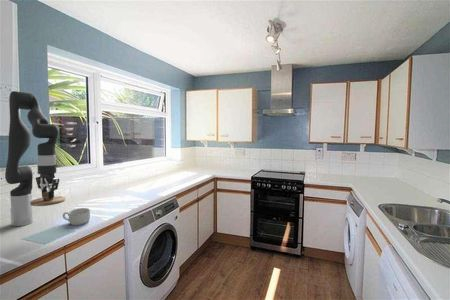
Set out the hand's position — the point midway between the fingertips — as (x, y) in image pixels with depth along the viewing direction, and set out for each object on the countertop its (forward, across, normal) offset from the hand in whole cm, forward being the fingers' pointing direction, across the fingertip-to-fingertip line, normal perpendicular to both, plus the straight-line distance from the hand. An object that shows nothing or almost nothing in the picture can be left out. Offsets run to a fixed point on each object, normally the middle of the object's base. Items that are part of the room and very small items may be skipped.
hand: (48, 197), depth 119 cm
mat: (+20, 0, 0) cm, 20 cm away
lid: (+2, 0, 0) cm, 2 cm away
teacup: (+21, -2, +17) cm, 27 cm away
